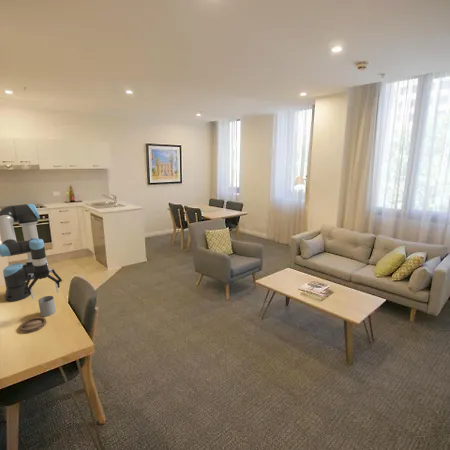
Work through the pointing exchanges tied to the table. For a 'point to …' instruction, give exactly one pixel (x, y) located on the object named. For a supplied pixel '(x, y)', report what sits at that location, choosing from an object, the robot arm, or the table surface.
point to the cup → (47, 306)
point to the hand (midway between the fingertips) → (45, 295)
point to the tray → (33, 324)
